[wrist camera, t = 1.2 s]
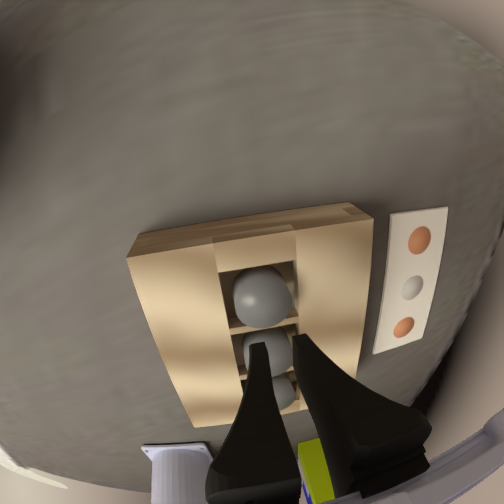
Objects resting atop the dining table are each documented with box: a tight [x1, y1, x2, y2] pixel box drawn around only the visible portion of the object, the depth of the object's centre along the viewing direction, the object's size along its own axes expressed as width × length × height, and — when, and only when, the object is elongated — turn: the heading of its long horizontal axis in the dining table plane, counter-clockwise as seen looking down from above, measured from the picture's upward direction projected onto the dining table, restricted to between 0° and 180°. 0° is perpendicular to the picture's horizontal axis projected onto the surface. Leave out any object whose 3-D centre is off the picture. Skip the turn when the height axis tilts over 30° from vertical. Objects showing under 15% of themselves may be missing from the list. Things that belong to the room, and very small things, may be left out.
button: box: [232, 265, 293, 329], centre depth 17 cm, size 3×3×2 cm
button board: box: [126, 202, 374, 427], centre depth 21 cm, size 16×14×4 cm
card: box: [372, 206, 448, 354], centre depth 23 cm, size 14×6×1 cm, turn 6°
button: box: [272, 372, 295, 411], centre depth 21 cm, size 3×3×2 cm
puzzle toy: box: [298, 438, 335, 504], centre depth 30 cm, size 10×10×10 cm
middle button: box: [242, 326, 293, 377], centre depth 19 cm, size 3×3×2 cm
